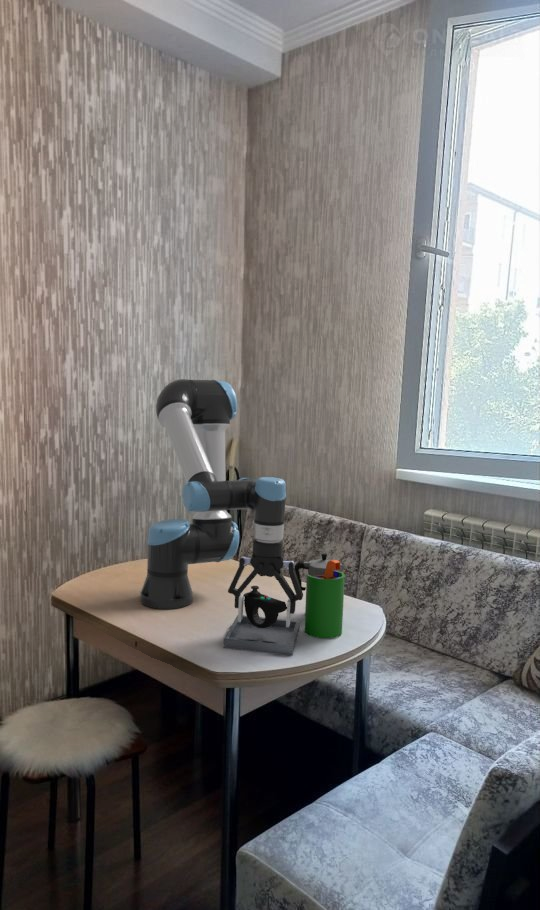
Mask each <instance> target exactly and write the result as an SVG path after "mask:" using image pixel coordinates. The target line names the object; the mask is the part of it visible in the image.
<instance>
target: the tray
mask: <svg viewBox="0 0 540 910" xmlns="http://www.w3.org/2000/svg"><path fill="white" fill-rule="evenodd" d="M259 617H260V619H261V620H263V621H265V616H264V617H262V616H259ZM300 632H301V620H293V619H292V620H291V619H290V626H289V627H286V619H282V618H277V620H276V622H275V623H274V624H273V625H272V626H270V627H267V628H258V627H256V626H254V625H253V624H252V623H251V622H250V621H249V619H248V618H247V615H244V614H243V619H242V621H241V622H238V614H237V615H236V617H235V618H234V620H233V622H232V624H231V625H230V627H229V628H228V630H227V632H226V634H225V635H224V637H223V649H229V650H236V651H237V650H238V651H245V652H246V651H248V652H254V653H255V652H256V653H267V654H275V655H284V656H293V655H294V651H295V649H296V648H295V647H296V645H297V642H298V639H299V636H300Z"/></svg>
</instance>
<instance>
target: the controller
mask: <svg viewBox="0 0 540 910" xmlns="http://www.w3.org/2000/svg"><path fill="white" fill-rule="evenodd" d="M250 589H252V590H250V591H248V592H246V593H244V602H243V606H244V612H245V616H247V618H248V619H249V621H250V622H251V623H252V624H253V625H254V626H256V627H258V628H267V627H270V626H272V625H273V624H274V623H275V622H276V620H277V619H279V614H282V613H283V612H285V611H287V602H286V601H284V600H283V601H282V600H280V599H276V598H273V597H270V596H268V595H267V594H262V593H261V592H260V591H259V590H260V586H258V585H251V586H250ZM259 609H260V610H262V611H263V614H264V618H265V621H263V620H261V619H260V617H261V616H260V614H259Z"/></svg>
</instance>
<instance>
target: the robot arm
mask: <svg viewBox="0 0 540 910" xmlns="http://www.w3.org/2000/svg"><path fill="white" fill-rule="evenodd" d="M155 403H156V404H155V413H156V417H157V420H158V422H159V424H160V425H161V427H162V428H164V429H165V431H166V433H167V436H168V438H169V440H170V443H171V446H172V449H173V451H174V454H175V456H176V458H177V462H178V464H179V467H180V469H181V472H182V475H183V476H184V480H185V481H186V482H185V484H184V485H183V487H182V499H183V500H182V503H183V506H184V508H185V509H186V510H187V511H188V512H194V513H195V514H194V515H193V516H192V521H191V522H192V523H190V521H189V520H187V519H183V518H170V519H164V520H159V521H157V522H155V523H153V524H152V525H151V526H150V527H149V530H148V536H147V564H146V565H147V568H146V570H147V572H146V577H145V580H144V582H143V585H142V587H141V591H140V595H139V596H140V599H139V601H140V603H141V602H142V603H143V604H142V603H141V604H142V605H144V606H145V605H146V607H149V608H153V609H160V610H173V609H180V608H181V609H182V608H185V607H188V606H189V605H191V604H192V603H193V598H194V597H193V596H194V593H193V590H192V585H191V583H190V582H191V581H190V579H189V575H188V572H189V571H188V570H189V569H188V568H189V565H196V564H208V563H220V562H227V561H229V560H231V559H232V558H233V557H234V556H235V555H236V554H237V552H238V549H239V544H240V531H239V527H238V524H237V523H236V522H235V521H233V520H232V515H231V514H230V513H229V512H228V511H234V510H252V511H254V517H253V519H254V520H253V533H252V535H253V538H254V539H253V540H252V556H251V557H246V555H242V556H241V557H240V558H239V563H238V568H237V570H236V572H235V575H234V577H233V579H232V581H231V583H230V585H229V587H228V590H227V593H229V594H231V595H233V596H234V609H238V612H237V613H238V614H237V615H238V622H241V621H242V619H243V615H244V598H245V597H244V594H245V593H244V594H243V592H244V590H246V588H247V587H248V586H249V584H250V583H251V582H252V581H253V580H254V578H255V577H256V576H257V575H258V576H259V577H269V578H272V577H274V578H275V580H276V581H277V582H278V583H279V585H280V587H281V588H282V589H283V591H284V593H285V594H286V596H287V597H288V599H287V602H286V606H287V609H286V618H285V620H286V627H289V626H290V620H291V618H292V617H291V615H292V614H293V615H294V614H295V612H296V602H298V601H302V600H303V597H304V592H303V591H302V590H301V587H300V584H299V581H298V578H297V575H296V572H295V569H294V567H295V565H296V564H295V560H293V559H291V560H290V561H289V560H284V558H283V550H284V549H283V548H284V541H283V539H284V534H285V533H284V532H285V515H286V514H285V512H286V511H285V510H286V499H287V491H286V487H287V485H286V481H285V480H284V479H282V478H280V477H272V476H262V477H258V478H257V479H254V478H251V477H241V478H239V479H238V480H237V479H236V480H226V479H227V478H226V475H227V474H226V430H228V428H229V427H230V425H231V424H230V423H231V422H230V421H231V420H233V419H234V418H236V415H237V411H238V400H237V395H236V392H235V390H234V388H233V386H232V385H231V384H230V383H228V382H227V381H223V380H216V379H215V380H214V379H211V380H210V379H188V378H187V379H186V378H181V379H176V380H173V381H171V382H170V383H168V384H167V385H165V386H164V387H163V389H161V391H160V392H159V395H158V397H157V399H156V402H155ZM249 563H250V565H251V567H252V568H253V570H252V571H251V573H249V574H248V576H247V577H246V579H244V580H243V582H242V583H241V585H240V586H239V587H238V588H236V586H237V584H238V582H239V580H240V579H241V578H240V577H241V575H242V574H243V572H244V570H245V567H247V566H248V565H249ZM283 567H285V569H286V570H287V571H288V575H289V577H290V579H291V580H290V581H291V583H292V586H293V589H294V590H293V589H292V587H291V586H290V584H289V583H288V581H287V580H286V578H285V576H284V575H283V572H282V570H281V569H282V568H283ZM294 591H295V592H294Z"/></svg>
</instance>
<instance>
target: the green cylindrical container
mask: <svg viewBox="0 0 540 910" xmlns="http://www.w3.org/2000/svg"><path fill="white" fill-rule="evenodd" d="M340 563H341V561H339V560H338V559H331V561H328V563H327V565H326V570H325V575H318V576H314V577H313V576H310V575H308V574H307V575H306V586H305V587H306V590H305V608H304V609H305V611H304V633H305V635H307V636H309V637H312V638H317V639H335V638H338V637H340V636H342V634H343V616H344V595H345V577H346V574H345V573H343V571H342V572H340V571H337V570H340Z"/></svg>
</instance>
